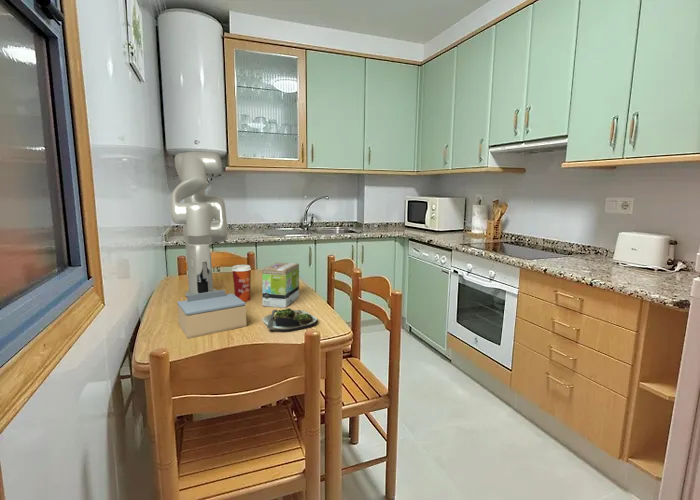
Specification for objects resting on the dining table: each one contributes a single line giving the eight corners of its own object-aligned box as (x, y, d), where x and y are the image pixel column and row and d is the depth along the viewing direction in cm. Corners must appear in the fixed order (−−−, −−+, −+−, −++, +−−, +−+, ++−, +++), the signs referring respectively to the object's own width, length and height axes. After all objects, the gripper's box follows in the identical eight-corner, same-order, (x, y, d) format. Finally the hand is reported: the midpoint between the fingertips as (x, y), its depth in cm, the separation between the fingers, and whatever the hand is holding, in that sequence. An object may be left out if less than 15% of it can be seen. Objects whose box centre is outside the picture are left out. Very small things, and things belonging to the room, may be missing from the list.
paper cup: (242, 303, 146) (240, 268, 143) (229, 300, 150) (227, 266, 147) (257, 299, 152) (255, 265, 150) (243, 296, 156) (242, 263, 154)
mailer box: (178, 324, 123) (177, 304, 122) (233, 314, 133) (232, 295, 132) (187, 338, 111) (186, 316, 110) (246, 326, 121) (245, 305, 120)
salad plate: (252, 318, 130) (251, 306, 129) (299, 310, 139) (298, 298, 138) (271, 337, 113) (271, 322, 113) (323, 326, 123) (323, 312, 122)
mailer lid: (177, 303, 122) (176, 295, 121) (232, 294, 132) (231, 287, 131) (186, 315, 110) (185, 306, 110) (245, 304, 120) (245, 297, 120)
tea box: (286, 308, 140) (285, 270, 138) (262, 306, 142) (260, 268, 140) (299, 297, 155) (299, 262, 153) (277, 295, 157) (276, 261, 155)
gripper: (183, 238, 130) (187, 289, 133) (192, 243, 118) (196, 299, 121) (205, 237, 135) (208, 286, 137) (217, 242, 122) (220, 295, 125)
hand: (203, 292), depth 129 cm, fingers closed
